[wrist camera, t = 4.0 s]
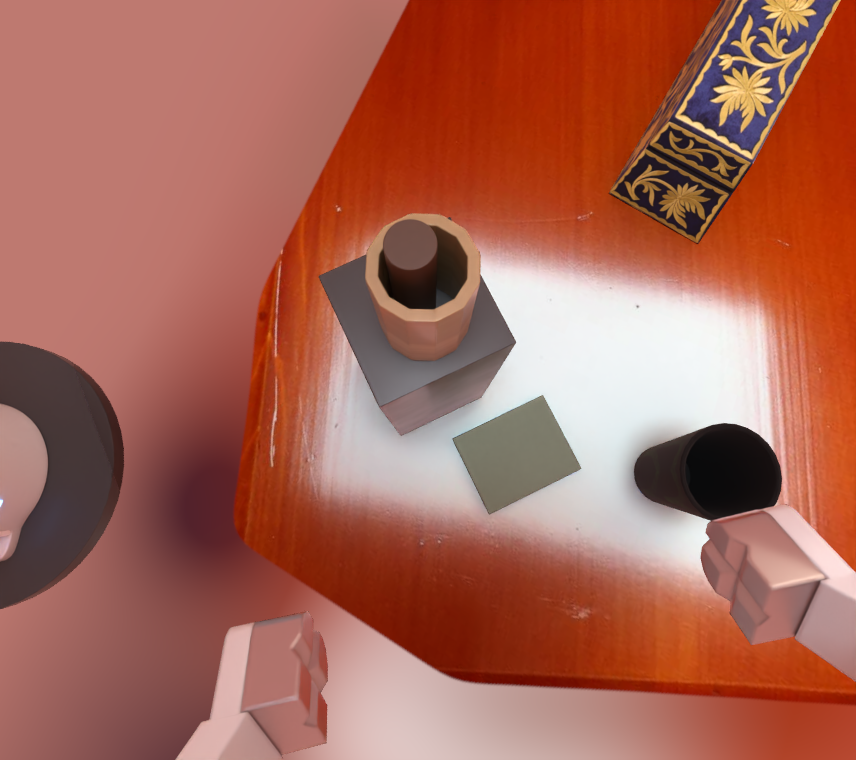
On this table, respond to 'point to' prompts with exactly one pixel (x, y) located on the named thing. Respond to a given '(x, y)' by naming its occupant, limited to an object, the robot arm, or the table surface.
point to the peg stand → (416, 289)
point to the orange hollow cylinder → (456, 276)
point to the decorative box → (720, 110)
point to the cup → (711, 472)
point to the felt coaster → (516, 454)
